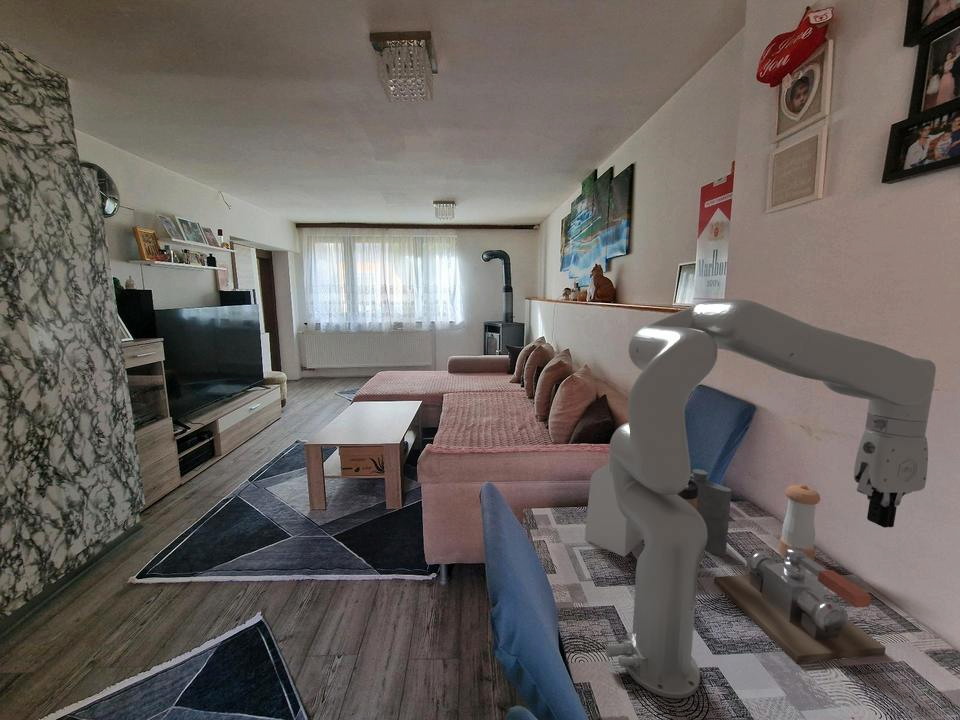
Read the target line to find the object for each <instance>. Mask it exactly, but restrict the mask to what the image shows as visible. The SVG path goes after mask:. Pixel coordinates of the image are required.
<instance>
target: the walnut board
mask: <svg viewBox="0 0 960 720" xmlns="http://www.w3.org/2000/svg"><path fill="white" fill-rule="evenodd" d="M750 574H751V573H750ZM750 574H736V575H735V574H733V575H722V576H714V577H713V584H714V585H715V586H716V587H717V588H718V589H719V590H721V592H722V593H723V594H724V595H725V596H726V597H728V599H730V600H731V602H733V604H735V605H736V606H737V607H738V609H740V610H741V611H742V612H743V613H744V614H745V615H746V616H747V617H748V618H749V619H750V620H751V621H752V622H753V623H754V624H755V625H756V626H757V627H758V628H759V629H761V631H763V632H764V634H766V636H767V637H769V638H770V640H772V641H773V642H774V643H775V644H776V645H777V646H778V647H779V648H780V649H781V650H782V651H783V652H784V653H785V654H786V655H787V656H788V657H789V658H790V659H791V660H792V661H793V662H794V663H795V664H805V663H816V662H825V660H827V661H834V660H833V659H837V660H843V659H842V658H847V659H854V658H853V657H857V658H866V657H873V656H875V657H876V656H885V654H886V646H885V645H884V644H882V643H881V642H879V641H878V640H877V639H875V638H874V637H872V635H870V634H868V632H866V631H864V630H863V629H862V628H861V627H859V626H858V625H856V624H855V623H854V622H853V621H851V620H850V619H848V621H847V624H846V626H845V627H844V629H843V630H842V631H840V632H839V636H838V637H837V638H826V639H816V640H815V639H813V638H812V637H811V636H810V635H809V634H808V633H806V632H805V631H804V630H803V629H802V628H801V621H795V622H789V621H788V620H786V619H785V618H784V617H783V616H782V615H781V614H780V613H778V612H777V611H776V610H775V609H774V608H773V607H772V606H770V605H769V604H768V603H767V602H766V601H765V600H764V599H762V598H761V596H762V592H759V591H758V590H757V589H755V588H754V587H753V586H752V585H751V584H750Z"/></svg>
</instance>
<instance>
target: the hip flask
mask: <svg viewBox="0 0 960 720" xmlns="http://www.w3.org/2000/svg"><path fill="white" fill-rule="evenodd" d="M707 477H708V472H707V471H706V470H703V469H698V468H695V469H692V472H690V479H689V480H691V481H693V482H695V483H696V484H697V485H698V499H697V511H698V512H699V514H700V515H701V516H702V518H703V520H704V522H705V524H706V527H707V532H708V538H707V543H706V546H705V549H704V551H705V550H706V551H708V552H710V553H712V554H714V555H717V556H721V557H725V556H726V554H727V546H728V535H729V532H728V531H729V522H730V512H731V510H730V509H731V499H732V489H731V488H730V487H727V486H723V485H721V484H718V483H715V482H712V481H710V480H707Z"/></svg>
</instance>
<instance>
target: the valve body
mask: <svg viewBox="0 0 960 720" xmlns="http://www.w3.org/2000/svg"><path fill="white" fill-rule="evenodd" d="M746 568H747V569H748V570H749V571H750V584H751V585H752V586H753V587H754V588H755V589H757V590H758V591H759V592H762V596H761V598H762V599H764V600H765V601H766V602H767V603H768V604H769V605H770V606H772V607H773V608H774V609H775V610H776V611H777V612H778V613H780V614H781V615H782V616H783V617H784V618H785V619H786V620H788V621H789V622H795V621H801V628H802V629H803V630H804V631H805V632H806V633H808V634H809V635H810V636H811V637H812V638H813V639H815V640H816V639H826V638H837V637H838V636H839V632H840V631H842V630H843V629H844V627H845V626H846V624H847V621H848V620H849V615H848V613H847V612H848V611H846V609H844V608H843V607H842V606H840V605H839V604H838V603H837V602H835V601H834V600H832V599H829V598H825V597H824V595H825V588H826V586H824V585H823V584H822V583H820V582H819V581H818V578H817V577H815V576H814V575H812V574H810V573H809V571H806V570H807V569H806V568H804V567H803V566H801V565H797V564H794V563H792V562H790V560H788V559H787V558H786V557H784V559H783V563H777V561H776V559H775V557H774V556H771V555H770V554H769V553H767V551H765V550H761V549H758V550H755V551H753V552H751V553H750V554H749V556H747V559H746Z"/></svg>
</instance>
